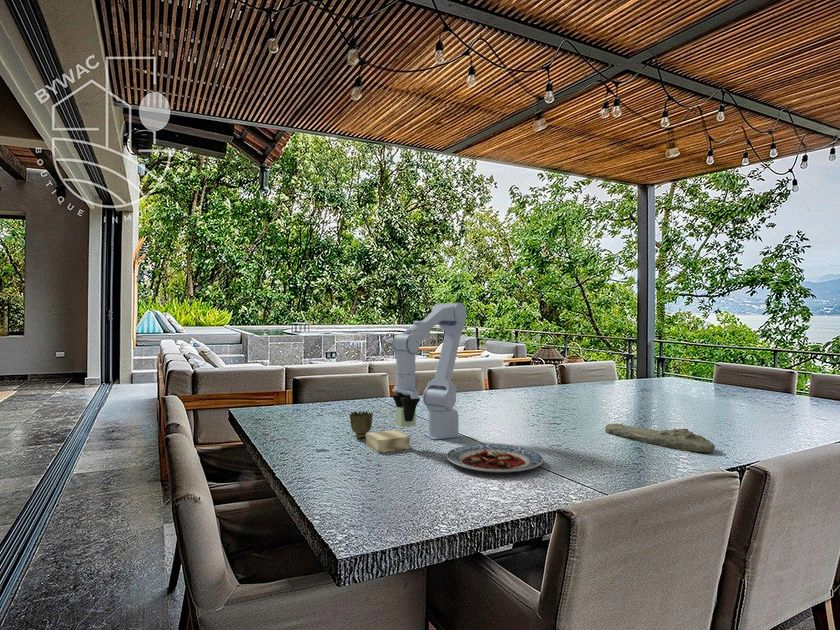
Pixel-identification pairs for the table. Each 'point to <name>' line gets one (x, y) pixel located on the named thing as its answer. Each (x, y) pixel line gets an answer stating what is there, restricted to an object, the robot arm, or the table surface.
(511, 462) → the ceramic plate
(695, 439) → the elongated rock
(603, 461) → the table surface
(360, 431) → the cup
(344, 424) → the table surface
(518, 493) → the table surface
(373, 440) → the birch block
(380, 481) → the table surface
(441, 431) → the robot arm
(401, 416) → the green block
